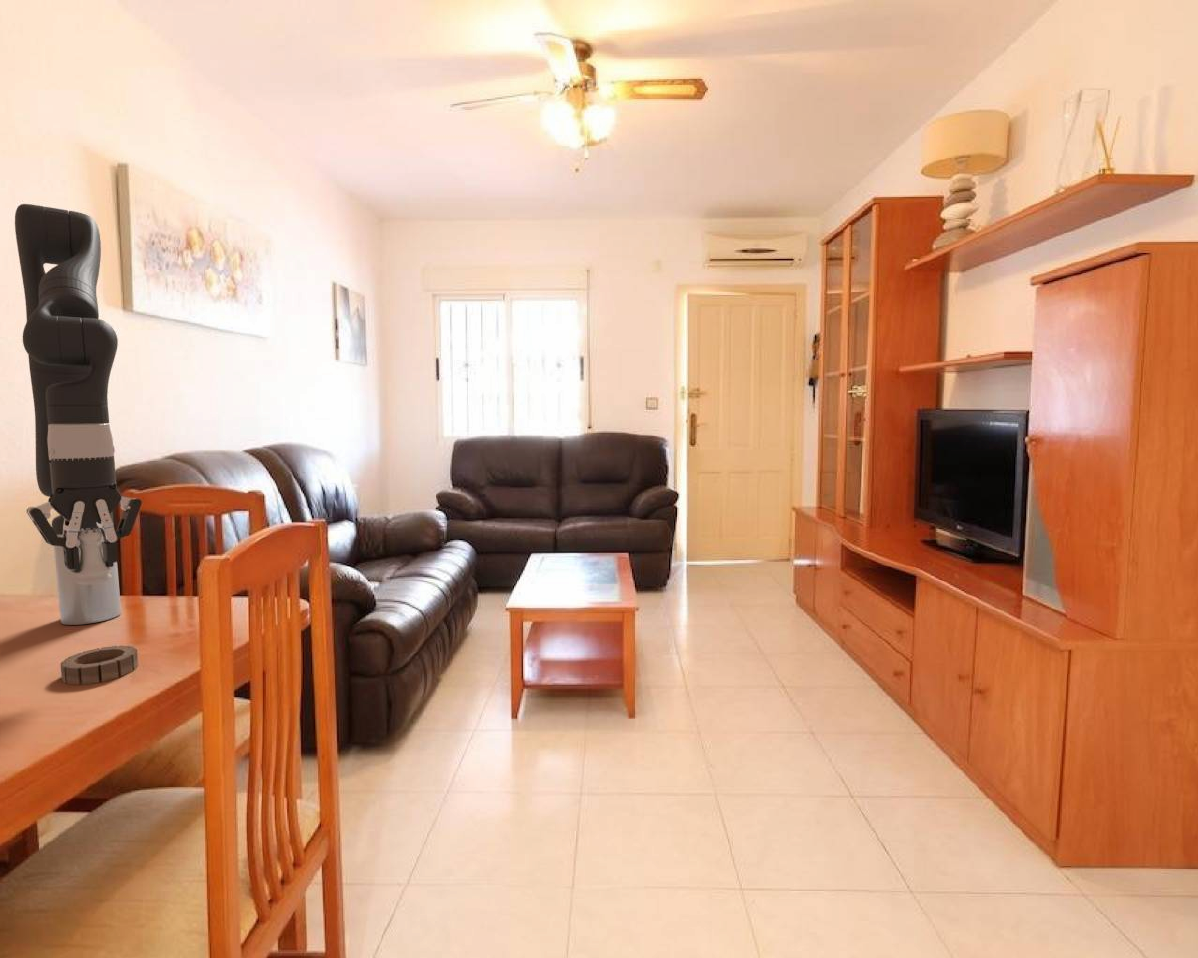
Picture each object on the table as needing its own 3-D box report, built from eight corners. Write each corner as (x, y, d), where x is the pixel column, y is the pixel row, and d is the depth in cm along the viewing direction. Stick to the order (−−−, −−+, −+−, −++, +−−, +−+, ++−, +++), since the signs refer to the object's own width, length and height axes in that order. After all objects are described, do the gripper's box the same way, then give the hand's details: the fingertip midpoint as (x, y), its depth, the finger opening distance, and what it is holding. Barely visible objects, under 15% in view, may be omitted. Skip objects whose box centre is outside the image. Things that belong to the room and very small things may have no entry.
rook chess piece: (91, 586, 94) (86, 532, 93) (66, 584, 95) (61, 531, 94) (119, 578, 98) (115, 526, 97) (95, 576, 99) (91, 526, 98)
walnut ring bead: (55, 674, 97) (54, 658, 97) (126, 656, 104) (125, 641, 104) (72, 689, 92) (70, 673, 91) (146, 669, 99) (144, 654, 98)
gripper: (130, 451, 102) (139, 557, 104) (12, 456, 91) (24, 574, 93) (147, 453, 98) (155, 563, 100) (25, 458, 87) (37, 582, 88)
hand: (92, 568), depth 96 cm, fingers closed on rook chess piece, 3 cm apart
